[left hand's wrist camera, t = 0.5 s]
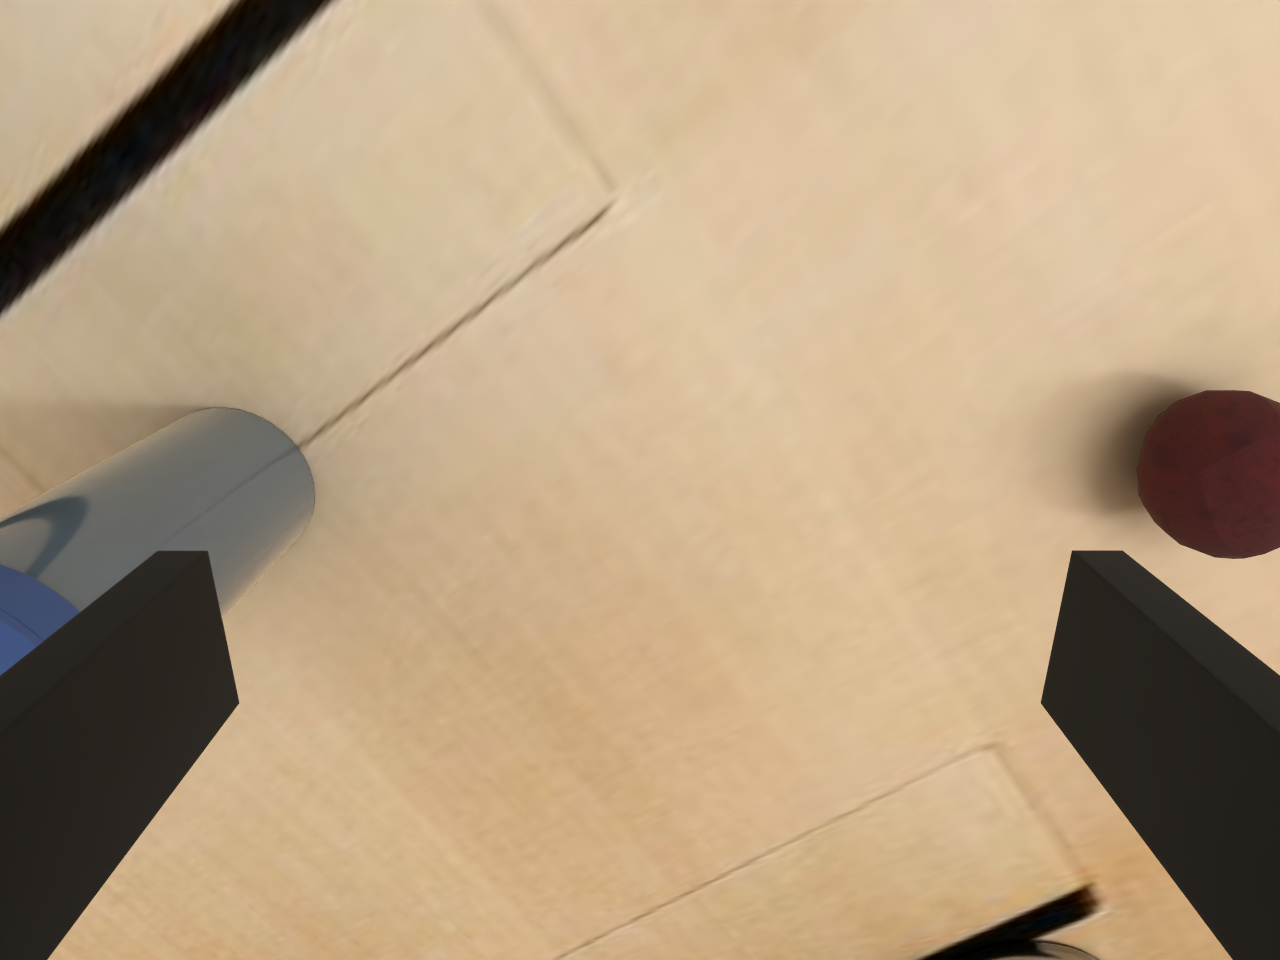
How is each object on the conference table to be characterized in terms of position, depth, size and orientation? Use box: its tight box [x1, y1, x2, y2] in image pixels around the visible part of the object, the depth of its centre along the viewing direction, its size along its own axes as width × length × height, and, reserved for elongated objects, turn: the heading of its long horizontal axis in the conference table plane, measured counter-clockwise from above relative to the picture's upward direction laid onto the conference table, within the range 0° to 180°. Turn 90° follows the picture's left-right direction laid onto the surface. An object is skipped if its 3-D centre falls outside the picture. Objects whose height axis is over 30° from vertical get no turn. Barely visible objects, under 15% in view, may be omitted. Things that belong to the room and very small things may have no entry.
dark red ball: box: [1137, 390, 1280, 559], centre depth 38 cm, size 7×8×7 cm
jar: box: [0, 408, 315, 620], centre depth 33 cm, size 8×8×19 cm
